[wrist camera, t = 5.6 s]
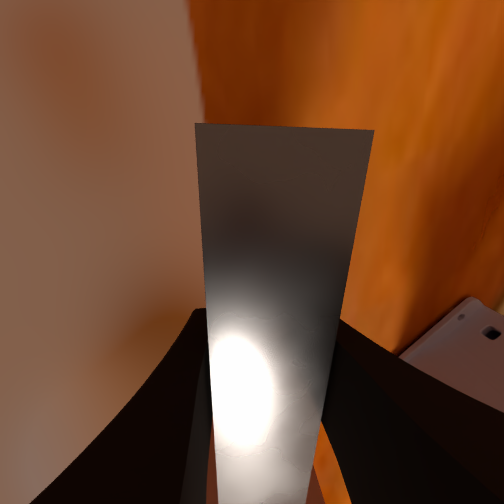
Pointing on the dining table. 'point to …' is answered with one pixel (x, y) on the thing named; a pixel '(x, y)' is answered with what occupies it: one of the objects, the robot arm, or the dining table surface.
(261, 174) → the tall grey plank
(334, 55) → the dining table surface
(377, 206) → the dining table surface
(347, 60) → the dining table surface
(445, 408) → the robot arm
